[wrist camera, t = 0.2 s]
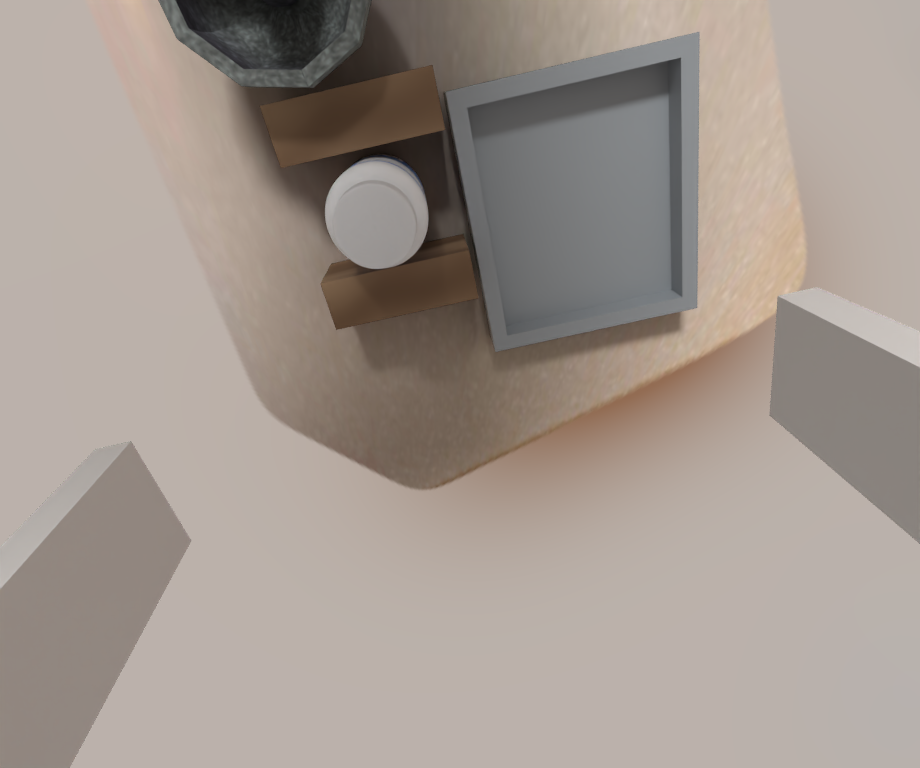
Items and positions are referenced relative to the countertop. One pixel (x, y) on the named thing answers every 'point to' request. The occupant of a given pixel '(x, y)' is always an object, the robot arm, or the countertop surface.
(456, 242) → the slot holder
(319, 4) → the mortar and pestle
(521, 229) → the tray
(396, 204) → the pill bottle
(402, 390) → the countertop surface
